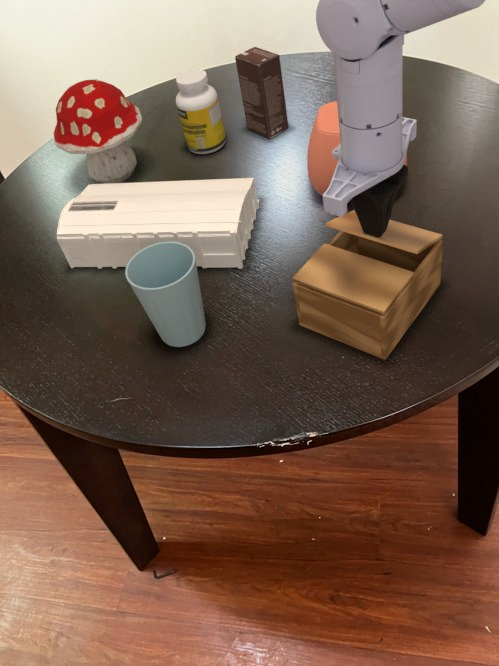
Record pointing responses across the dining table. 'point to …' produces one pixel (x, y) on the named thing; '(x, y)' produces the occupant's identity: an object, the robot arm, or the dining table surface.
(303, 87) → the dining table surface
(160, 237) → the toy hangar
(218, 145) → the pill bottle
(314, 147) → the teapot
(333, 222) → the flap
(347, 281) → the wooden box
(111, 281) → the dining table surface
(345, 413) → the dining table surface
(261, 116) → the box
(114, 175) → the decorative mushroom
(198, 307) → the cup
